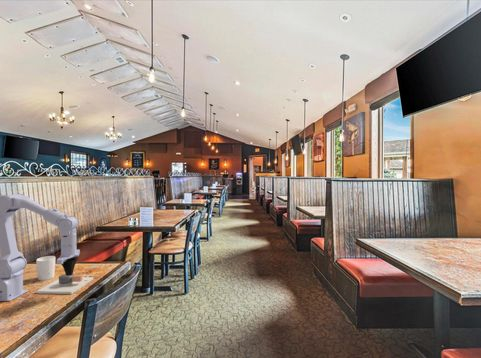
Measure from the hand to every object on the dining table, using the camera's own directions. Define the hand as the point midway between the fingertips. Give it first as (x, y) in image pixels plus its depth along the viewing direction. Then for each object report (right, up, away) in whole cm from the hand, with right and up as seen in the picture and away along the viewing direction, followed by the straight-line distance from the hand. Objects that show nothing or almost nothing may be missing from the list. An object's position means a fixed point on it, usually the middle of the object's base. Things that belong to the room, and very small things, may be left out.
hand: (69, 274), depth 116 cm
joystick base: (-6, -8, +8) cm, 13 cm away
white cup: (-23, -8, +17) cm, 30 cm away
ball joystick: (-4, -6, +8) cm, 10 cm away
